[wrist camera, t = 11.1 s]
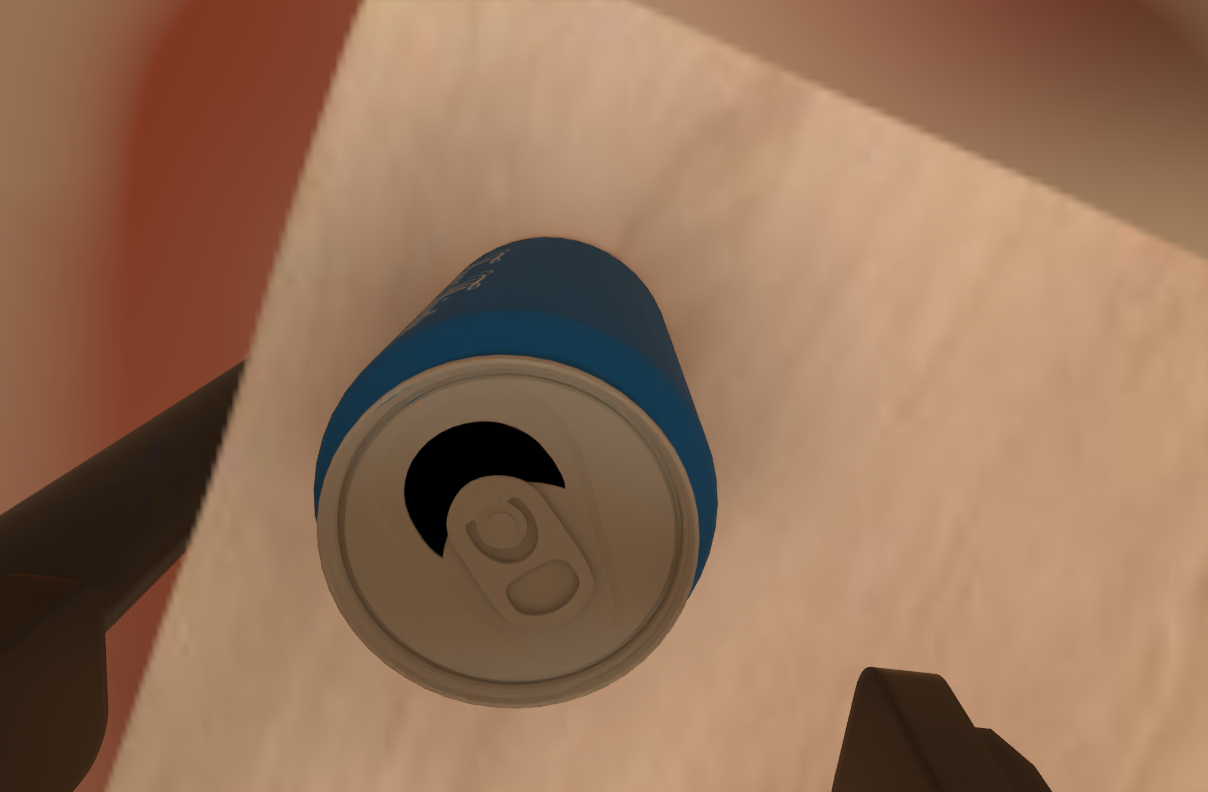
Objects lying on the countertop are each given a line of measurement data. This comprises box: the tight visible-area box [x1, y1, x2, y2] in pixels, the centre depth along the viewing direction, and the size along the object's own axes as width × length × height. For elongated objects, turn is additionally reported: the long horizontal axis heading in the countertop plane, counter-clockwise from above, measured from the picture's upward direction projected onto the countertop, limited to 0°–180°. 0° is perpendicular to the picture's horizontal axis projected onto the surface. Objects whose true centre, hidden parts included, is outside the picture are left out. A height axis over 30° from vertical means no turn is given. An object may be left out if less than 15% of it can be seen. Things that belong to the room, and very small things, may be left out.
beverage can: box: [314, 237, 718, 708], centre depth 19 cm, size 6×6×12 cm
